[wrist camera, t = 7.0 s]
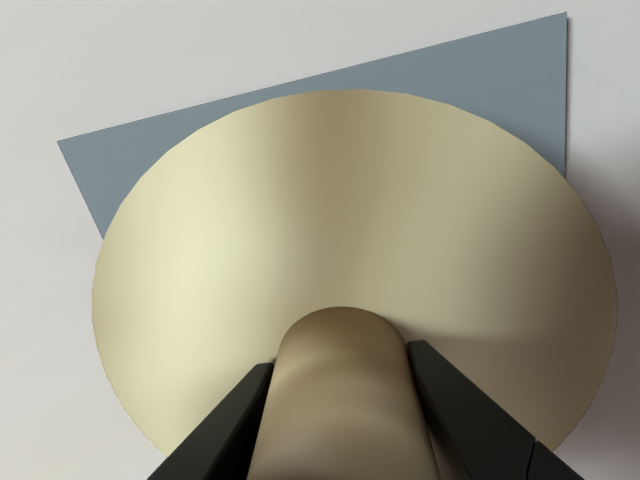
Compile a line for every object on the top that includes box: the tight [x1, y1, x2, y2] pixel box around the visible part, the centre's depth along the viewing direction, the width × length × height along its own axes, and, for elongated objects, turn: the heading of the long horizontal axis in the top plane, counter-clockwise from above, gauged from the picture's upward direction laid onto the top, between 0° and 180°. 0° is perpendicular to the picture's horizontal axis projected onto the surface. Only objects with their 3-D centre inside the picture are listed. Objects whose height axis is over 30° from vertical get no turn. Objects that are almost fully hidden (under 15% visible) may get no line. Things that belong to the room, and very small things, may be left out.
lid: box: [92, 89, 617, 480], centre depth 8 cm, size 12×12×4 cm
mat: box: [57, 12, 567, 240], centre depth 11 cm, size 13×13×1 cm
